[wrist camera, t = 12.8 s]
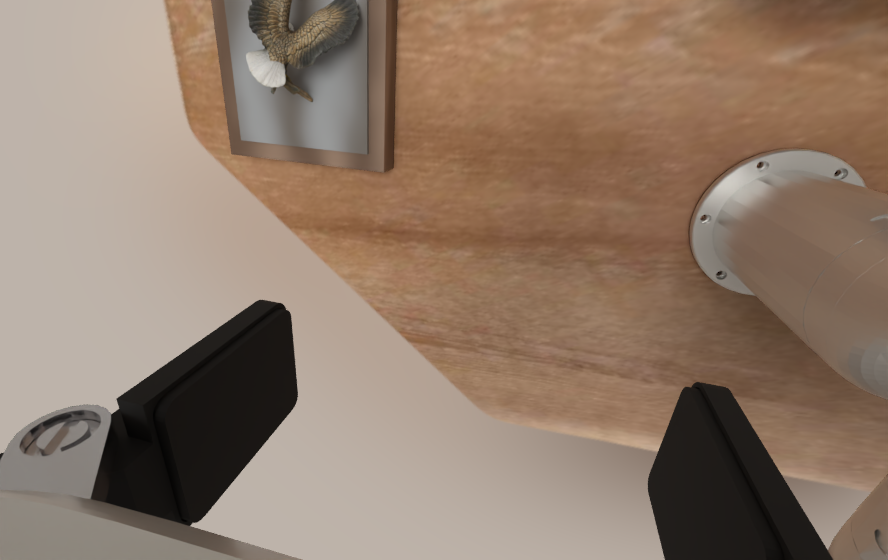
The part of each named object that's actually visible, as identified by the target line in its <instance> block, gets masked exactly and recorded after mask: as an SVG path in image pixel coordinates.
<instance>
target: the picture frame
mask: <svg viewBox="0 0 888 560" xmlns="http://www.w3.org/2000/svg"><path fill="white" fill-rule="evenodd" d="M333 1H334V0H292V3H291V9H290V17H289V23H290V24H292V25H293V29H294V31H296V30H298V28H299V27H300V26H302V25H303V24H304V23H305V22H306V21H307V19H308V18H309V17H310V16H311V15H312V14H313V13H315V12H316V11H318V10H320V9H322V8H324V7H326V6H327V5H329V4H330V3H331V2H333ZM211 2H212V10H213V17H214V25H215V32H216V40H217V48H218V55H219V63H220V70H221V78H222V86H223V93H224V101H225V108H226V116H227V123H228V131H229V139H230V146H231V154H234V155H242V156H251V157H259V158H267V159H276V160H284V161H292V162H301V163H309V164H317V165H326V166H334V167H342V168H351V169H359V170H367V171H376V172H386V171H388V170H390V169H392V168H393V163H394V120H395V77H396V34H397V0H355V3H357V4H358V7H357V9H358V10H359V13H358V17H359V19H358V21H357V22H356V26H355V27H354V31H352V32H351V35H350V36H348V37H349V39H348V40H347V41H345V43H344V44H342V45H337V46H336V47H335V48H331V49H330V50H328V52H327V53H322V54H321V55H319V56H318V57H317V59H316V60H315V61H314V64H313V65H311V66H309V67H305V68H300V69H297V68H294V67H293V66H292V65H291V64H288V66H287V73H286V74H287V76H288V77H289V78H290V80H291V82H292V83H293V84H294V85H296V86H298V87H299V88H300V89H302V90H304V91H305V92H307V93H308V94H309V95H310V96H311V98H312V99H313V102H310V101H308V100H307V99H305V98H304V97H302V96H301V95H299V94H297V93H296V94H292V93H290V92H289V91H288V90H287V89H286V88H285V87H283V86H281V87H278V88H276V91H275V93H274V94H272V93H271V87H266V86H263V85H262V84H261V83H259V82H258V81H257V80H256V79H255V77H254V76H252V75H251V73H250V71H249V66H248V64H247V61H246V54H247V53H248V52H252V51H257V50H263V49H264V48H265V47H264V46H263V45H262V41H261V40H259V39H258V38H257V35H256V34H254V33H253V32H252V30H251V28H250V27H249V20H248V10H249V6H250V5H252V2H251V0H211Z"/></svg>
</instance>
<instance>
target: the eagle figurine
mask: <svg viewBox="0 0 888 560" xmlns="http://www.w3.org/2000/svg"><path fill="white" fill-rule="evenodd" d="M251 2H252V5H250V6H249V10H248V20H249V27H250V28H251V30H252V32H253V33H254V34H256V35H257V38H258V39H259V40H261V41H262V45H263V46H264V47H265V48H264V49H263V50H257V51H252V52H248V53H247V54H246V61H247V64H248V66H249V71H250V73H251V75H252V76H254V77H255V79H256V80H257V81H258V82H259V83H261V84H262V85H263V86H266V87H271V93H272V94H274V93H275V91H276V88H278V87H281V86H283V87H285V88H286V89H287V90H288V91H289V92H290V93H292V94H296V93H297V94H299V95H301V96H302V97H304V98H305V99H307V100H308V101H310V102H313V99H312V98H311V96H310V95H309V94H308V93H307V92H305V91H304V90H302V89H300V88H299V87H298V86H296V85H294V84H293V83H292V82H291V80H290V78H289V77H288V76H287V74H286V73H287V66H288V64H291V65H292V66H293V67H294V68H297V69H300V68H305V67H309V66H311V65H313V64H314V61H315V60H316V59H317V57H318V56H319V55H321V54H322V53H327V52H328V50H330V49H331V48H335V47H336V46H337V45H342V44H344V43H345V41H347V40H348V39H349V37H348V36H350V35H351V32H352V31H354V27H355V26H356V22H357V21H358V19H359V17H358V13H359V10H358V9H357V7H358V4H357V3H355V0H334V1H333V2H331V3H330V4H329V5H327V6H326V7H324V8H322V9H320V10H318V11H316V12H315V13H313V14H312V15H311V16H310V17H309V18H308V19H307V21H306V22H305V23H304V24H303V25H302V26H300V27H299V28H298V30H296V31H294V29H293V25H292V24H290V23H289V17H290V9H291V3H292V0H251Z"/></svg>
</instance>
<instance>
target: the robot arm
mask: <svg viewBox="0 0 888 560" xmlns="http://www.w3.org/2000/svg"><path fill="white" fill-rule="evenodd" d="M759 162H761V165H760V167H758V168H756V167H757V164H758V163H759ZM837 170H838V171H837ZM836 171H837V173H836V174H835V172H836ZM703 215H705V218H704V219H700V218H701V217H702V216H703ZM689 236H690V246H691V250H692V253H693V256H694V258H695V260H696V261H697V263H698V265H699V267H700V268H701V269H702V270H703V271H704V272H705V274H706V275H707V276H708V277H709V278H711V279H712V280H713V281H714V282H715V283H717V284H719V285H721V286H722V287H724V288H726V289H728V290H731V291H734V292H737V293H740V294H746V295H752V296H757V297H758V298H759V299H760V300H761V301H762V302H763V303H764V304H765V305H766V306H767V307H768V308H769V309H770V310H771V311H772V312H773V313H774V314H775V315H776V316H777V317H778V318H779V319H780V320H782V321H783V322H784V323H785V324H786V325H787V326H788V327H789V328H790V329H791V330H792V331H793V332H794V333H795V334H796V335H797V336H798V337H799V338H800V339H801V340H802V341H803V342H804V343H805V344H806V345H807V346H808V347H810V348H811V349H812V350H813V351H814V352H815V353H816V354H817V355H818V356H819V357H820V358H821V359H823V360H824V361H825V362H826V363H827V364H828V365H829V366H830V367H831V368H832V369H833V370H834V371H836V372H837V373H838V374H839V375H841V376H842V377H843V378H844V379H846V380H847V381H849V382H850V383H852V384H854V385H855V386H857V387H859V388H860V389H862V390H864V391H866V392H869V393H871V394H873V395H876V396H879V397H881V398H884V399H887V400H888V194H886V193H883V192H879V191H876V190H872V189H869V188H867V187H866V185H865V183H864V181H863V179H862V177H861V176H860V175H859V174H858V173H857V171H856V170H855V169H854V168H853V167H852V166H850V165H849V164H847V163H846V162H845V161H843V160H842V159H840V158H838V157H835V156H833V155H830V154H828V153H825V152H820V151H816V150H810V149H800V148H790V149H777V150H773V151H769V152H765V153H761V154H758V155H756V156H753V157H751V158H748V159H746V160H744V161H742V162H740V163H739V164H737V165H735V166H734V167H732V168H730V169H729V170H727V171H726V172H725V173H724V174H722V175H721V176H720V177H719V178H718V179H716V180H715V181H714V182H713V184H712V185H711V186H710V187H709V188H708V189H707V190H706V191H705V193H704V194H703V196H702V198H701V199H700V201H699V202H698V204H697V206H696V208H695V211H694V214H693V216H692V219H691V225H690V231H689ZM719 271H721V272H720V273H718V274H717V272H719ZM297 397H298V391H297V379H296V368H295V357H294V345H293V334H292V322H291V314H290V312H289V311H287V310H286V308H285V306H284V305H283V304H281V303H276V302H271V301H265V300H259V301H256V302H255V303H254V304H252V305H251V306H249V307H248V308H246V309H245V310H243V311H242V312H241V313H239V314H238V315H236V316H235V317H233V318H232V319H231V320H229V321H228V322H226V323H225V324H223V325H222V326H220V327H219V328H218V329H217V330H215V331H213V332H212V333H210V334H209V335H207V336H206V337H205V338H203V339H202V340H201V341H199V342H197V343H196V344H195V345H193V346H192V347H190V348H189V349H187V350H186V351H185V352H183V353H182V354H180V355H179V356H177V357H176V358H174V359H173V360H172V361H170V362H169V363H167V364H166V365H165V366H163V367H162V368H160V369H159V370H157V371H156V372H155V373H153V374H151V375H150V376H149V377H147V378H146V379H144V380H143V381H141V382H140V383H139V384H137V385H136V386H134V387H133V388H131V389H130V390H128V391H127V392H126V393H124V394H123V395H121V396H120V397H118V398H117V402H118V405H119V409H118V410H117V411H116V412H114V413H113V414H111V413H110V412H109V411H108V410H107V409H106V408H104V407H101V406H98V405H79V406H72V407H68V408H64V409H61V410H57V411H55V412H52V413H50V414H47V415H45V416H43V417H41V418H39V419H37V420H35V421H34V422H32V423H30V424H29V425H27V426H26V427H24V428H23V429H22V430H21V431H19V432H18V433H17V434H16V435H15V436H14V438H13V439H12V440H11V442H10V443H9V445H8V447H7V448H6V450H5V452H4V453H1V454H0V560H301V559H298V558H294V557H291V556H288V555H285V554H281V553H277V552H274V551H271V550H268V549H264V548H261V547H258V546H254V545H251V544H248V543H244V542H241V541H238V540H234V539H231V538H228V537H224V536H221V535H217V534H214V533H211V532H207V531H204V530H201V529H197V528H194V527H191V526H190V525H191V524H192V523H195V522H198V521H200V520H201V519H202V518H203V517H204V516H205V515H206V513H208V511H209V510H210V509H211V508H212V506H213V505H214V504H215V503H216V502H217V500H218V499H219V498H220V497H221V495H222V494H223V493H224V492H225V491H226V489H227V488H228V487H229V486H230V485H231V483H232V482H233V481H234V480H235V479H236V477H237V476H238V475H239V474H240V472H241V471H242V470H243V469H244V468H245V466H246V465H247V464H248V463H249V462H250V460H251V459H252V458H253V457H254V456H255V454H256V453H257V452H258V451H259V449H260V448H261V447H262V446H263V444H264V443H265V442H266V441H267V440H268V439H269V437H270V436H271V435H272V434H273V433H274V431H275V430H276V429H277V427H278V426H279V425H280V424H281V423H282V421H283V420H284V419H285V418H286V417H287V415H288V414H289V413H290V412H291V410H292V409H293V408H294V406H295V404H296V401H297ZM648 492H649V497H650V501H651V505H652V509H653V513H654V517H655V521H656V525H657V529H658V533H659V537H660V541H661V545H662V549H663V553H664V557H665V560H888V475H887V476H886V477H885V478H884V479H883V480H882V481H881V482H880V484H879V485H878V486H877V487H876V488H875V489H874V490H873V491H872V492H871V494H870V495H869V496H868V497H867V498H866V499H865V500H864V501H863V503H862V504H861V505H860V506H859V507H858V508H857V510H856V511H855V513H854V514H853V515H852V516H851V517H850V518H849V519H848V520H847V522H846V523H845V524H844V525H843V526H842V528H841V529H840V530H839V532H838V533H837V535H836V536H835V537H834V539H833V541H832V543H831V545H830V547H829V549H828V550H827V549H826V547H825V545H824V544H823V542H822V541H821V539H820V537H819V535H818V534H817V532H816V531H815V529H814V527H813V526H812V524H811V522H810V521H809V519H808V517H807V516H806V514H805V512H804V511H803V509H802V508H801V506H800V504H799V503H798V501H797V499H796V498H795V496H794V495H793V493H792V491H791V490H790V488H789V486H788V485H787V483H786V482H785V480H784V478H783V476H782V475H781V473H780V472H779V470H778V468H777V467H776V465H775V463H774V462H773V460H772V458H771V457H770V455H769V454H768V452H767V450H766V449H765V447H764V445H763V444H762V442H761V440H760V439H759V437H758V436H757V434H756V432H755V431H754V429H753V427H752V426H751V424H750V422H749V421H748V419H747V417H746V416H745V414H744V413H743V411H742V409H741V408H740V406H739V404H738V403H737V401H736V399H735V398H734V396H733V395H732V393H731V391H730V390H729V389H728V388H726V387H722V386H716V385H711V384H706V383H700V382H696V383H694V384H693V385H692V387H684V389H683V390H682V392H681V394H680V397H679V399H678V402H677V405H676V407H675V410H674V412H673V415H672V417H671V420H670V423H669V425H668V428H667V430H666V433H665V436H664V438H663V441H662V443H661V446H660V448H659V451H658V454H657V456H656V459H655V461H654V464H653V467H652V469H651V472H650V474H649V478H648Z"/></svg>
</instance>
